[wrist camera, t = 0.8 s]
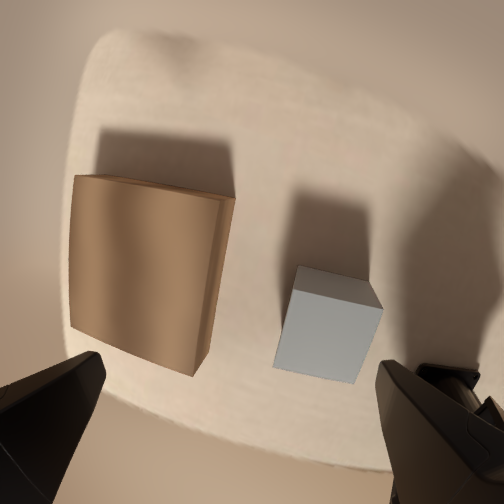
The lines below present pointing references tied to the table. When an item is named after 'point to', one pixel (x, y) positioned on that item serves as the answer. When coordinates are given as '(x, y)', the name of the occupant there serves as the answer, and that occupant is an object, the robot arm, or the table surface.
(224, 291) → the table surface
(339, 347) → the slate cube
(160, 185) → the block
